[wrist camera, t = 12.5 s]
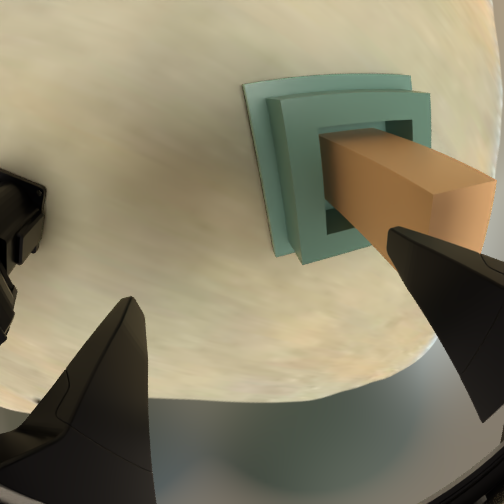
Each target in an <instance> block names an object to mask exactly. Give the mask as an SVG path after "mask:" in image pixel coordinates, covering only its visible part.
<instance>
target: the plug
mask: <svg viewBox="0 0 504 504" xmlns="http://www.w3.org/2000/svg"><path fill="white" fill-rule="evenodd" d="M319 143H320V152H321V162H322V172H323V184H324V196H325V199H326V200H327V201H328V202H329V203H330V204H331V205H332V206H333V207H334V208H335V209H336V210H338V211H339V212H340V213H341V214H342V215H343V216H344V217H345V218H346V219H347V220H348V221H349V222H350V223H351V224H352V225H353V226H354V227H355V228H356V229H357V230H358V231H359V232H360V233H361V234H362V235H363V236H364V237H365V238H366V239H367V240H368V241H369V242H370V243H371V244H372V245H373V246H374V247H375V248H376V249H377V250H378V251H379V252H380V254H381V255H382V256H383V257H384V258H385V259H386V260H387V261H388V262H389V263H390V264H391V265H392V266H393V267H394V269H395V270H396V268H395V266H394V264H393V263H392V261H391V259H390V257H389V256H388V254H387V250H386V246H387V235H388V230H389V229H390V228H393V227H396V226H401V227H404V228H407V229H410V230H414V231H417V232H420V233H423V234H426V235H429V236H432V237H435V238H438V239H441V240H444V241H447V242H450V243H453V244H456V245H459V246H462V247H464V248H467V249H470V250H473V251H475V252H478V253H479V254H481V251H482V247H483V243H484V240H485V236H486V232H487V228H488V224H489V219H490V214H491V210H492V205H493V200H494V194H495V189H496V182H497V180H495V179H493V178H492V177H490V176H488V175H486V174H484V173H482V172H480V171H478V170H476V169H474V168H472V167H470V166H468V165H466V164H464V163H462V162H460V161H458V160H456V159H454V158H451V157H449V156H447V155H445V154H442V153H440V152H438V151H435V150H433V149H431V148H428V147H426V146H423V145H421V144H418V143H416V142H413V141H410V140H408V139H405V138H402V137H399V136H396V135H394V134H391V133H388V132H385V131H382V130H379V129H375V128H365V129H355V130H346V131H338V132H331V133H323V134H319ZM396 271H397V270H396ZM397 272H398V271H397Z"/></svg>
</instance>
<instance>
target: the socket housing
mask: <svg viewBox="0 0 504 504" xmlns="http://www.w3.org/2000/svg"><path fill="white" fill-rule="evenodd" d="M242 86H243V91H244V96H245V101H246V105H247V110H248V115H249V121H250V126H251V131H252V136H253V141H254V146H255V151H256V157H257V162H258V167H259V173H260V178H261V183H262V189H263V194H264V200H265V205H266V211H267V217H268V222H269V228H270V234H271V240H272V245H273V251H274V254H275V256H276V257H279V256H283V255H287V254H290V253H294V252H295V253H296V255H297V257H298V258H299V260H300V262H301V263H302V265H305V264H308V263H312V262H316V261H319V260H323V259H326V258H330V257H333V256H337V255H340V254H344V253H347V252H351V251H354V250H357V249H361V248H364V247H368V246H371V245H372V244H371V243H370V242H369V241H368V240H367V239H366V238H365V237H364V236H363V235H362V234H361V233H360V232H359V231H358V230H357V229H356V228H355V227H354V226H353V225H352V224H351V223H350V222H349V221H348V220H347V219H346V218H345V217H344V216H343V215H342V214H341V213H340V212H339V211H338V210H336V209H335V208H334V207H333V206H332V205H331V204H330V203H329V202H328V201H327V200H326V199H325V196H324V184H323V172H322V162H321V152H320V143H319V134H323V133H331V132H338V131H346V130H355V129H365V128H375V129H379V130H382V131H385V132H388V133H391V134H394V135H396V136H399V137H402V138H405V139H408V140H410V141H413V142H416V143H418V144H421V145H423V146H426V147H428V148H431V104H430V93H425V92H418V91H412V85H411V76H409V75H394V74H329V75H313V76H301V77H291V78H283V79H275V80H268V81H261V82H255V83H249V84H243V85H242Z"/></svg>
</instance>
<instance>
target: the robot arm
mask: <svg viewBox="0 0 504 504" xmlns="http://www.w3.org/2000/svg"><path fill="white" fill-rule="evenodd" d="M39 190H40V191H41V192H42V194H40V193H39ZM45 196H46V189H45V188H44V187H43V186H42V185H39V184H37V183H34V182H32V181H29V180H27V179H24V178H22V177H19V176H17V175H14V174H12V173H9V172H7V171H4V170H2V169H0V345H1V344H2V343H3V342H4V341H6V339H7V336H6V335H7V333H8V331H9V328H10V325H11V323H12V321H13V318H14V315H15V312H14V311H13V309H14V304H15V299H16V295H17V289H16V288H15V286H14V285H13V284H12V282H11V280H10V278H9V276H8V275H9V274H10V272H11V271H12V270H13V268H14V267H15V265H16V264H18V265H21V264H23V262H24V261H25V260H26V258H27V257H28V256H29V254H30V253H35V252H36V251H37V250H38V244H39V241H40V240H41V236H42V228H43V221H44V213H43V207H44V201H45ZM386 250H387V254H388V256H389V257H390V259H391V261H392V263H393V264H394V266H395V268H396V270H397V271H398V273H399V275H400V277H401V279H402V281H403V282H404V284H405V286H406V287H407V289H408V291H409V292H410V294H411V295H412V297H413V298H414V300H415V301H416V303H417V304H418V306H419V307H420V309H421V310H422V312H423V314H424V315H425V317H426V318H427V320H428V322H429V323H430V325H431V326H432V328H433V330H434V331H435V333H436V335H437V336H438V338H439V340H440V342H441V343H442V345H443V347H444V348H445V350H446V352H447V354H448V355H449V357H450V359H451V361H452V363H453V365H454V366H455V368H456V370H457V372H458V374H459V375H460V378H461V380H462V382H463V384H464V386H465V388H466V390H467V392H468V394H469V396H470V398H471V400H472V402H473V404H474V407H475V409H476V411H477V413H478V416H479V418H480V420H481V422H482V423H484V422H485V421H486V420H487V419H489V418H490V417H491V416H492V415H493V414H494V413H496V412H497V411H498V410H499V409H500V408H501V407H502V406H503V405H504V262H503V261H500V260H497V259H494V258H491V257H489V256H486V255H484V254H479V253H478V252H475V251H473V250H470V249H467V248H464V247H462V246H459V245H456V244H453V243H450V242H447V241H444V240H441V239H438V238H435V237H432V236H429V235H426V234H423V233H420V232H417V231H414V230H410V229H407V228H404V227H401V226H396V227H393V228H390V229H389V230H388V235H387V246H386ZM0 504H156V497H155V490H154V482H153V473H152V464H151V451H150V436H149V416H148V352H147V340H146V327H145V317H144V314H143V312H142V310H141V309H140V307H139V305H138V303H137V302H136V300H135V298H134V297H132V296H130V297H126V298H122V299H121V300H120V301H119V302H118V303H117V305H116V306H115V307H114V308H113V309H112V311H111V312H110V313H109V314H108V315H107V317H106V318H105V319H104V320H103V321H102V323H101V324H100V325H99V326H98V328H97V329H96V330H95V331H94V333H93V334H92V335H91V336H90V338H89V339H88V340H87V341H86V343H85V344H84V345H83V347H82V348H81V349H80V350H79V352H78V353H77V354H76V356H75V357H74V358H73V360H72V361H71V362H70V364H69V365H68V366H67V368H66V370H64V372H63V373H62V374H61V376H60V377H59V378H58V380H57V381H56V382H55V384H54V385H53V386H52V388H51V389H50V390H49V391H48V393H47V394H46V395H45V396H44V398H43V399H42V400H41V401H40V403H39V404H38V405H37V406H36V407H35V409H34V410H33V411H32V412H31V414H30V415H29V417H27V419H26V420H25V421H24V422H23V423H22V425H20V426H19V427H18V428H16V429H14V430H12V431H10V432H6V433H2V434H0ZM418 504H504V426H503V432H502V437H501V442H500V445H499V446H497V447H496V448H495V449H494V450H493V451H492V452H490V453H489V454H488V455H487V456H486V457H485V458H484V459H482V460H481V461H480V462H479V463H477V464H476V465H475V466H473V467H472V468H471V469H470V470H468V471H467V472H466V473H464V474H463V475H461V476H460V477H459V478H457V479H456V480H455V481H453V482H452V483H450V484H449V485H447V486H446V487H444V488H442V489H441V490H439V491H438V492H436V493H435V494H433V495H431V496H430V497H428V498H427V499H425V500H423V501H421V502H420V503H418Z"/></svg>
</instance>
